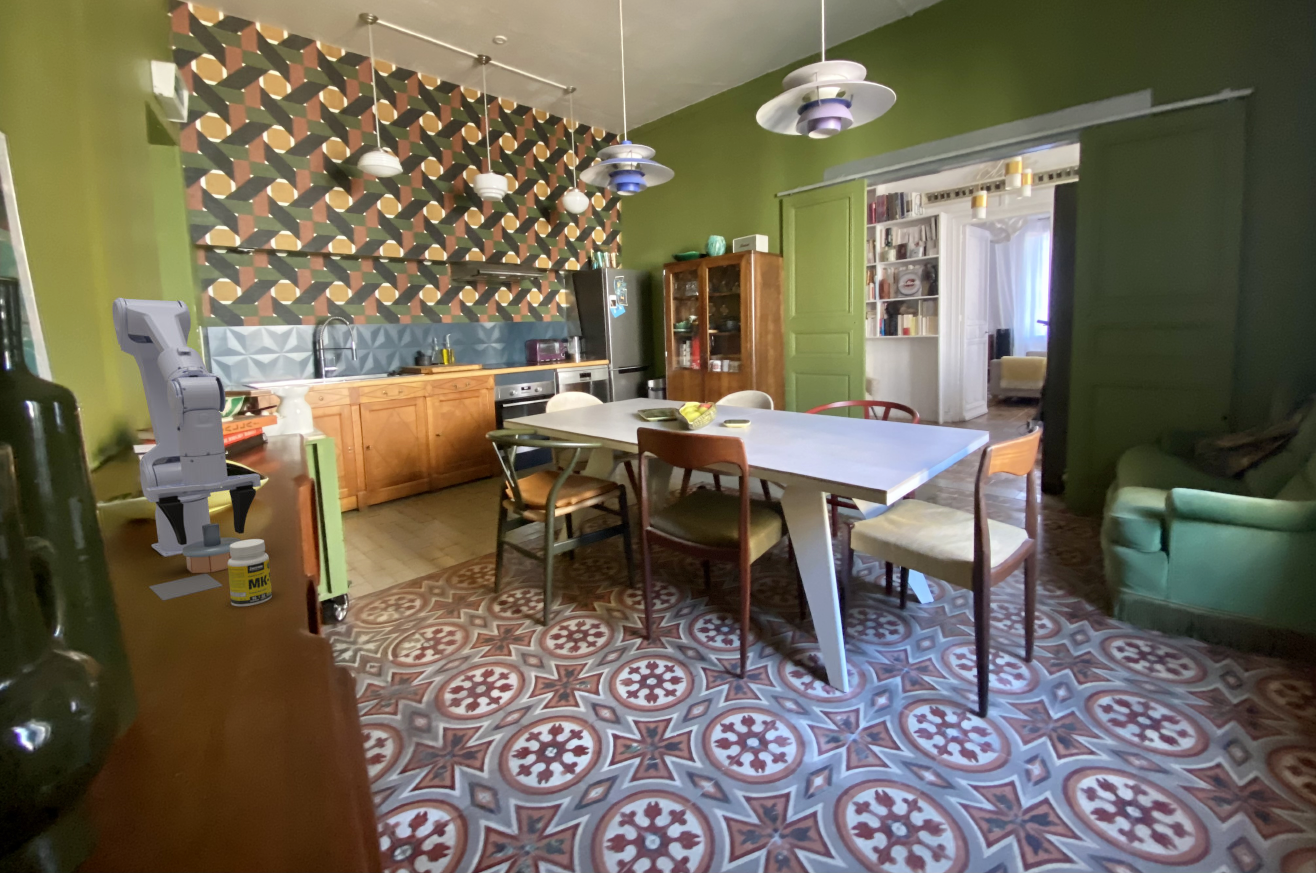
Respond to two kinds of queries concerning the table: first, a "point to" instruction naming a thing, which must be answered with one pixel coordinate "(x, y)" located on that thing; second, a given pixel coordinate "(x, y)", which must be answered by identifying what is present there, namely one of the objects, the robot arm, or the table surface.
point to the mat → (185, 586)
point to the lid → (209, 543)
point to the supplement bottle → (249, 573)
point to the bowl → (208, 563)
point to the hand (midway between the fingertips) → (211, 537)
